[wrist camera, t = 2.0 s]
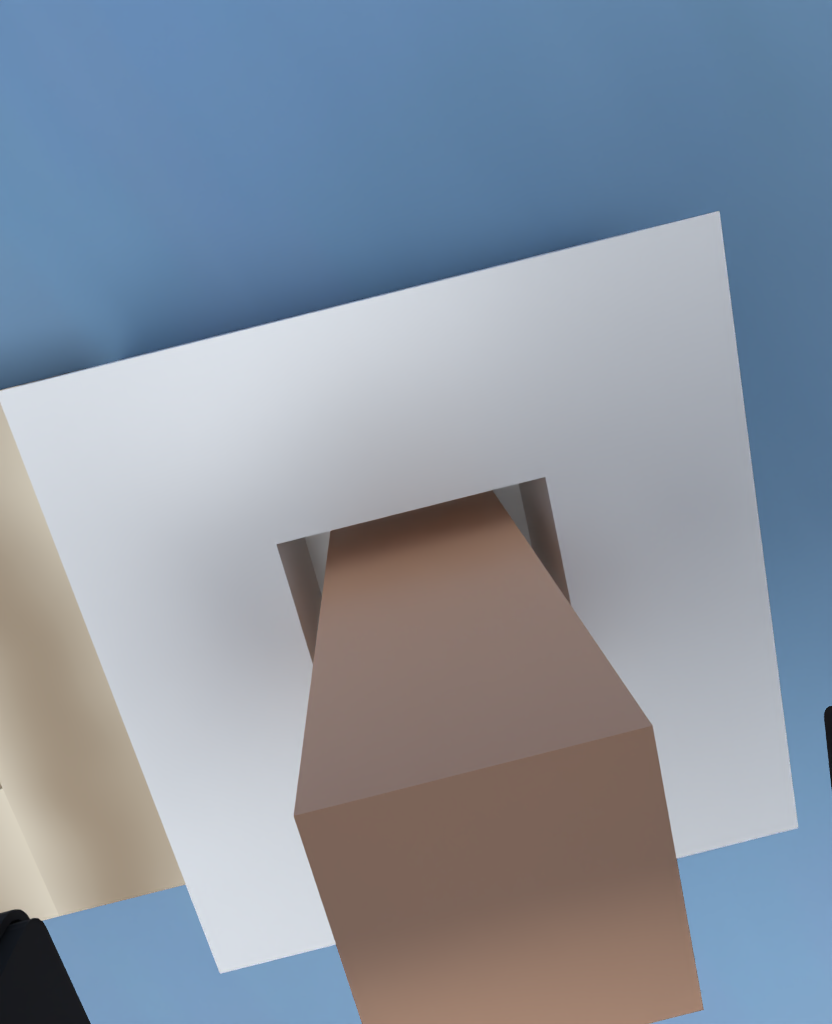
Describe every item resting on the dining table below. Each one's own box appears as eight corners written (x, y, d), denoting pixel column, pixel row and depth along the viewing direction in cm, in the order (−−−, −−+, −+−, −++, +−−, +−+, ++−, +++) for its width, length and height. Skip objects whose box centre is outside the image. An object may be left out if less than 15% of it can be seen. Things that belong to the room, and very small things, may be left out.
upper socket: (597, 239, 23) (719, 210, 15) (670, 673, 26) (798, 827, 19) (120, 360, 23) (-5, 392, 15) (261, 776, 26) (220, 973, 19)
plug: (485, 479, 20) (652, 725, 9) (517, 622, 21) (703, 1010, 10) (332, 518, 20) (293, 816, 9) (371, 658, 21) (383, 1089, 10)
